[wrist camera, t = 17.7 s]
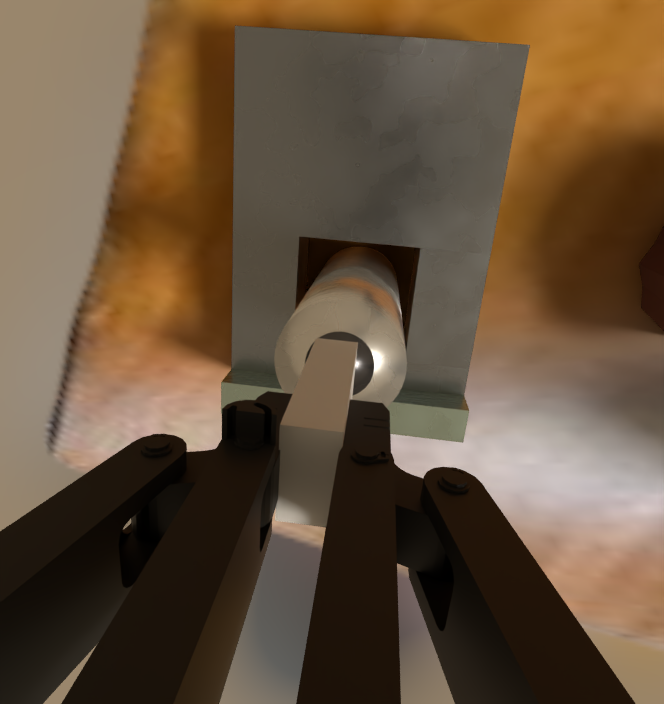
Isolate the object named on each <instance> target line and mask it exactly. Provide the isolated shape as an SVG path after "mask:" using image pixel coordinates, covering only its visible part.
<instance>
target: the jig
mask: <svg viewBox="0 0 664 704" xmlns="http://www.w3.org/2000/svg"><path fill="white" fill-rule="evenodd" d="M529 47H530V45H522V44H507V43H492V42H476V41H461V40H446V39H431V38H415V37H400V36H385V35H370V34H354V33H339V32H324V31H309V30H293V29H278V28H263V27H247V26H235V69H234V169H233V270H232V369H231V371H230V372H229V373H228V374H227V376H226V377H225V378H224V379H223V381H222V382H221V414H222V408H224V407H225V406H226V405H227V404H230V403H232V402H235V401H240V400H256V399H257V397H259V396H260V395H262V394H264V393H266V392H267V391H271V392H280V393H284V391H283V390H282V388H281V386H280V384H279V381H278V378H277V375H276V371H275V361H274V356H275V348H276V345H277V341H278V339H279V336H280V334H281V332H282V330H283V329H284V327H285V325H286V324H287V322H288V321H289V319H290V318H291V316H292V315H293V313H294V312H295V310H296V309H297V307H298V305H299V304H300V302H301V301H302V299H303V298H304V296H305V295H306V280H307V264H308V248H309V237H311V238H321V239H332V240H343V241H353V242H364V243H375V244H385V245H396V246H406V247H415V252H414V260H413V267H412V274H411V282H410V289H409V296H408V304H407V311H406V319H405V326H404V340H405V348H406V358H407V370H406V376H405V380H404V383H403V386H402V388H401V390H400V392H399V394H398V395H397V397H396V398H395V399H394V401H393V402H392V403H391V404H390V405H389V406H388V407H387V409H388V410H389V411H390V434H396V435H405V436H413V437H422V438H430V439H438V440H447V441H455V442H463V440H464V435H465V430H466V425H467V420H468V414H469V409H468V406H467V403H466V400H465V397H464V392H465V387H466V382H467V376H468V371H469V366H470V360H471V355H472V350H473V345H474V339H475V334H476V329H477V323H478V318H479V313H480V307H481V302H482V297H483V291H484V286H485V281H486V275H487V270H488V265H489V259H490V254H491V249H492V243H493V238H494V233H495V228H496V222H497V217H498V212H499V206H500V201H501V196H502V190H503V185H504V180H505V174H506V169H507V164H508V158H509V153H510V148H511V142H512V137H513V132H514V127H515V121H516V116H517V111H518V105H519V100H520V95H521V89H522V84H523V79H524V73H525V68H526V63H527V57H528V52H529Z"/></svg>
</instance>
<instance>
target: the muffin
mask: <svg viewBox="0 0 664 704" xmlns="http://www.w3.org/2000/svg"><path fill="white" fill-rule="evenodd" d="M639 267H640V274H641V280H642V303H641V308H642V309H643V310H644V311H645V312H646V313H647V314H648V315H649V316H650V317H651V318H652V319H653V320H654V321H655V322H656V323H657V324H658V326H659V327H660V328H661V329H662V330H663V331H664V227H663V229H662V231H661V232H660V234H659V236H658V238H657V240H656V242H655V244H654V245H653V246H652V247H651V249H650V250H649V251H648V253H647V254H646V255H645V257H644V258H643V259H642V261H641V262H640V263H639Z"/></svg>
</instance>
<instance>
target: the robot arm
mask: <svg viewBox="0 0 664 704" xmlns="http://www.w3.org/2000/svg"><path fill="white" fill-rule="evenodd" d="M357 346H358V342H349V341H340V340H330V339H321V338H316V339H315V342H314V344H313V347H312V349H311V351H310V354H309V356H308V359H307V361H306V363H305V366H304V368H303V371H302V373H301V375H300V378H299V380H298V383H297V385H296V387H295V390H294V392H293V394H288V393H280V392H271V391H267V392H266V393H264V394H262V395H260V396H259V397H257V399H256V400H240V401H235V402H232V403H230V404H227V405H226V406H225V407H224V408H222V440H221V442H220V443H219V445H218V447H217V448H216V449H213V450H207V451H196V452H187V446H186V443H185V442H184V440H183V439H181V438H179V437H177V436H174V435H167V434H153V435H150V436H146V437H142V438H140V439H138V440H136V441H134V442H132V443H131V444H130V445H128V446H127V447H125V448H124V449H122V450H121V451H119V452H118V453H116V454H115V455H113V456H112V457H110V458H109V459H107V460H106V461H104V462H103V463H101V464H100V465H98V466H97V467H95V468H94V469H92V470H91V471H89V472H88V473H86V474H85V475H83V476H82V477H81V478H79V479H78V480H76V481H75V482H73V483H72V484H70V485H69V486H67V487H66V488H64V489H63V490H61V491H60V492H58V493H57V494H55V495H54V496H52V497H51V498H49V499H48V500H46V501H45V502H43V503H42V504H40V505H39V506H37V507H36V508H34V509H33V510H31V511H30V512H29V513H27V514H26V515H24V516H23V517H21V518H20V519H18V520H17V521H15V522H14V523H12V524H11V525H9V526H8V527H6V528H5V529H3V530H2V531H0V704H43V703H44V702H45V701H46V700H47V698H48V697H49V696H50V695H51V694H52V693H53V692H54V691H55V690H56V688H57V687H58V686H59V685H60V684H61V683H62V682H63V681H64V680H65V679H66V677H67V676H68V675H69V674H70V673H71V672H72V671H73V670H74V669H75V668H76V666H77V665H78V664H79V663H80V662H81V661H82V660H83V659H84V658H85V657H86V656H87V655H88V653H89V652H90V651H91V650H92V649H93V648H94V647H95V646H96V645H97V646H96V648H95V649H94V651H93V653H92V654H91V656H90V658H89V659H88V661H87V662H86V664H85V666H84V667H83V669H82V671H81V672H80V674H79V676H78V677H77V679H76V681H75V682H74V684H73V686H72V687H71V689H70V691H69V692H68V694H67V695H66V697H65V699H64V700H63V702H62V704H219V702H220V699H221V695H222V692H223V689H224V686H225V682H226V679H227V676H228V673H229V669H230V666H231V663H232V660H233V657H234V654H235V650H236V647H237V644H238V641H239V637H240V634H241V631H242V628H243V625H244V621H245V618H246V615H247V611H248V608H249V605H250V602H251V599H252V595H253V592H254V589H255V585H256V583H257V579H258V576H259V573H260V570H261V566H262V563H263V560H264V557H265V553H266V550H267V547H268V543H269V541H270V537H271V532H272V517H273V513H274V510H275V507H276V515H275V521H282V522H290V523H297V524H305V525H312V526H320V527H326V531H325V537H324V543H323V549H322V555H321V561H320V567H319V573H318V579H317V585H316V590H315V596H314V602H313V609H312V614H311V620H310V626H309V632H308V637H307V644H306V650H305V655H304V661H303V667H302V673H301V679H300V685H299V691H298V697H297V703H296V704H401V695H400V658H399V623H398V586H397V563H398V564H401V565H403V566H406V567H408V568H409V569H408V571H409V578H410V581H411V584H412V586H413V589H414V592H415V595H416V598H417V600H418V603H419V606H420V609H421V611H422V614H423V617H424V620H425V622H426V625H427V628H428V631H429V633H430V636H431V639H432V642H433V644H434V647H435V650H436V653H437V655H438V658H439V661H440V663H441V666H442V669H443V672H444V674H445V677H446V680H447V683H448V685H449V688H450V691H451V694H452V697H453V699H454V702H455V704H635V702H634V701H633V700H632V698H631V697H630V695H629V694H628V693H627V691H626V689H625V688H624V687H623V685H622V684H621V682H620V681H619V679H618V678H617V677H616V675H615V674H614V672H613V671H612V669H611V668H610V666H609V665H608V664H607V662H606V661H605V659H604V658H603V656H602V655H601V654H600V652H599V651H598V649H597V648H596V646H595V645H594V644H593V642H592V641H591V639H590V638H589V636H588V635H587V634H586V632H585V631H584V629H583V628H582V626H581V625H580V624H579V622H578V621H577V619H576V618H575V616H574V615H573V613H572V612H571V611H570V609H569V608H568V606H567V605H566V603H565V602H564V601H563V599H562V598H561V596H560V595H559V593H558V592H557V591H556V589H555V588H554V586H553V585H552V583H551V582H550V581H549V579H548V578H547V576H546V575H545V573H544V572H543V571H542V569H541V568H540V566H539V565H538V563H537V562H536V560H535V559H534V558H533V556H532V555H531V553H530V552H529V550H528V549H527V548H526V546H525V545H524V543H523V542H522V540H521V539H520V538H519V536H518V535H517V533H516V532H515V530H514V529H513V528H512V526H511V525H510V523H509V522H508V520H507V519H506V518H505V516H504V515H503V513H502V512H501V510H500V509H499V507H498V506H497V505H496V503H495V502H494V500H493V499H492V497H491V496H490V495H489V493H488V492H487V490H486V489H485V487H484V486H483V485H482V483H481V482H480V481H479V480H478V479H477V478H476V477H475V476H473V475H471V474H469V473H467V472H466V471H463V470H461V469H457V468H452V467H451V468H449V467H439V468H433V469H431V470H429V471H428V472H427V473H426V474H425V476H424V479H423V478H420V477H417V476H414V475H411V474H409V473H406V472H405V471H403V470H401V469H400V468H399V467H398V466H396V465H395V464H394V459H393V456H392V454H391V444H390V411H389V410H388V409H387V408H386V406H385V405H384V404H383V403H377V402H369V401H360V400H352V395H353V385H354V375H355V366H356V356H357ZM130 518H131V524H130V525H129V526H128V527H127V528H125V529H124V530H123V527H124V526H125V524H126V523H127V522H128V521H129V520H130ZM98 642H99V643H98Z"/></svg>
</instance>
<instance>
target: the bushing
mask: <svg viewBox="0 0 664 704" xmlns="http://www.w3.org/2000/svg"><path fill="white" fill-rule="evenodd" d="M316 338H321V339H330V340H340V341H349V342H358V346H357V356H356V366H355V375H354V385H353V395H352V400H360V401H369V402H377V403H383V404H384V405H385V406H386V408H387V407H388V406H389V405H390V404H391V403H392V402H393V401H394V399H395V398H396V397H397V395H398V394H399V392H400V390H401V388H402V386H403V383H404V380H405V376H406V370H407V358H406V348H405V340H404V331H403V323H402V314H401V306H400V298H399V289H398V281H397V275H396V272H395V269H394V268H393V266H392V264H391V263H390V261H389V260H388V259H387V258H386V257H385V256H384V255H383V254H382V253H380V252H378V251H377V250H374V249H372V248H369V247H364V246H354V247H348V248H345V249H343V250H341V251H339V252H337V253H336V254H334V255H333V256H332V257H331V258H330V259H329V260H328V261H327V263H326V264H325V266H324V267H323V269H322V270H321V272H320V273H319V275H318V276H317V278H316V279H315V281H314V282H313V284H312V286H311V287H310V289H309V290H308V292H307V293H306V295H305V296H304V298H303V299H302V301H301V302H300V304H299V305H298V307H297V309H296V310H295V312H294V313H293V315H292V316H291V318H290V319H289V321H288V322H287V324H286V325H285V327H284V329H283V330H282V332H281V334H280V336H279V339H278V341H277V345H276V348H275V356H274V361H275V371H276V375H277V378H278V381H279V384H280V386H281V388H282V390H283V391H284V393H288V394H293V392H294V390H295V387H296V385H297V383H298V380H299V378H300V375H301V373H302V371H303V368H304V366H305V363H306V361H307V359H308V356H309V354H310V351H311V349H312V347H313V344H314V342H315V339H316Z"/></svg>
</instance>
